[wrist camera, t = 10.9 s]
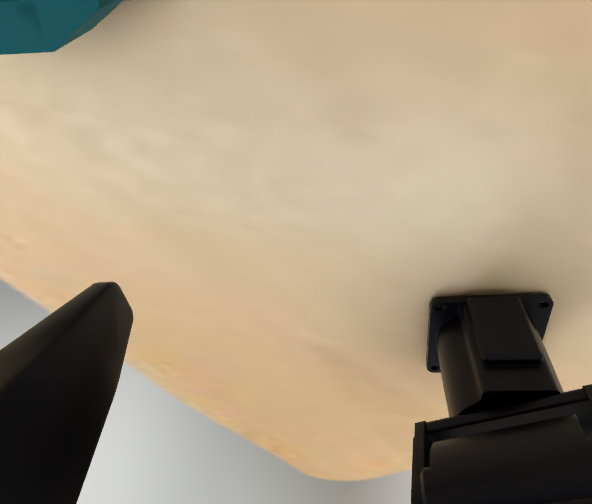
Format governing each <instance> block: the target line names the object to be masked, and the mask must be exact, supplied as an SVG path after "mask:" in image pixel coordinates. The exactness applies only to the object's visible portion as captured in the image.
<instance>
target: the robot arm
mask: <svg viewBox="0 0 592 504" xmlns="http://www.w3.org/2000/svg"><path fill="white" fill-rule="evenodd" d="M541 302H543V303H541ZM439 305H441V306H439ZM438 306H439V307H438ZM552 307H553V300H552V298H551V297H550V295H548V294H545V293H537V294H510V295H484V296H458V297H438V298H434V299H432V300H431V301H430V305H429V322H428V339H427V356H426V365H427V370H428V371H430V372H434V373H435V372H441V375H442V381H443V386H444V391H445V396H446V402H447V407H448V412H449V418H444V419H440V420H435V421H431V422H426V421H422V422H418V423H415V437H414V438H413V460H412V489H411V504H592V384H590V385H586V386H582V387H583V388H582V389H577V390H573V391H568V392H563V389H562V387H561V385H560V382H559V380H558V377H557V375H556V373H555V370H554V368H553V366H552V363H551V361H550V358H549V356H548V354H547V351H546V349H545V347H544V344H543V342H542V340H543V337H544V334H545V331H546V327H547V324H548V321H549V317H550V314H551V311H552ZM132 323H133V312H132V309H131V307H130V305H129V303H128V301H127V299H126V297H125V296H124V294H123V292H122V290H121V288H120V286H119V285H118V284H117V283H115V282H99V283H95V284H93V285H91V286H90V287H88V288H87V289H86V290H84V291H83V292H81V293H80V294H79V295H77V296H76V297H74V298H73V299H72V300H70V301H69V302H67V303H66V304H65V305H63V306H62V307H60V308H59V309H58V310H56V311H55V312H53V313H52V314H51V315H49V316H48V317H46V318H45V319H44V320H42V321H41V322H39V323H38V324H36V325H35V326H34V327H32V328H31V329H29V330H28V331H27V332H25V333H24V334H22V335H21V336H20V337H18V338H17V339H16V340H14V341H13V342H11V343H10V344H8V345H7V346H6V347H4V348H3V349H1V350H0V504H76V502H77V500H78V497H79V495H80V492H81V489H82V486H83V482H84V480H85V478H86V475H87V472H88V469H89V466H90V463H91V460H92V458H93V455H94V452H95V449H96V446H97V444H98V441H99V438H100V435H101V432H102V429H103V427H104V424H105V421H106V418H107V415H108V412H109V409H110V406H111V404H112V401H113V398H114V395H115V392H116V389H117V385H118V382H119V378H120V374H121V369H122V365H123V361H124V357H125V353H126V348H127V344H128V340H129V336H130V332H131V327H132Z"/></svg>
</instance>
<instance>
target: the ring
mask: <svg viewBox="0 0 592 504" xmlns="http://www.w3.org/2000/svg"><path fill="white" fill-rule="evenodd" d="M122 1H123V0H0V55H2V54H21V53H40V52H54V51H56V50H58V49H59V48H61V47H63V46H64V45H66V44H68V43H69V42H71V41H73V40H74V39H76V38H78V37H79V36H81V35H83V34H84V33H86V32H88V31H89V30H91V29H92V28H93V27H95V26H96V25H97V24H98V23H99V22H100V21H101V20H102V19H103V18H104V17H105V16H106V15H108V14H109V13H110V12H111V11H112V10H113V9H114V8H115V7H116V6H117V5H118V4H119V3H121V2H122Z"/></svg>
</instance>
